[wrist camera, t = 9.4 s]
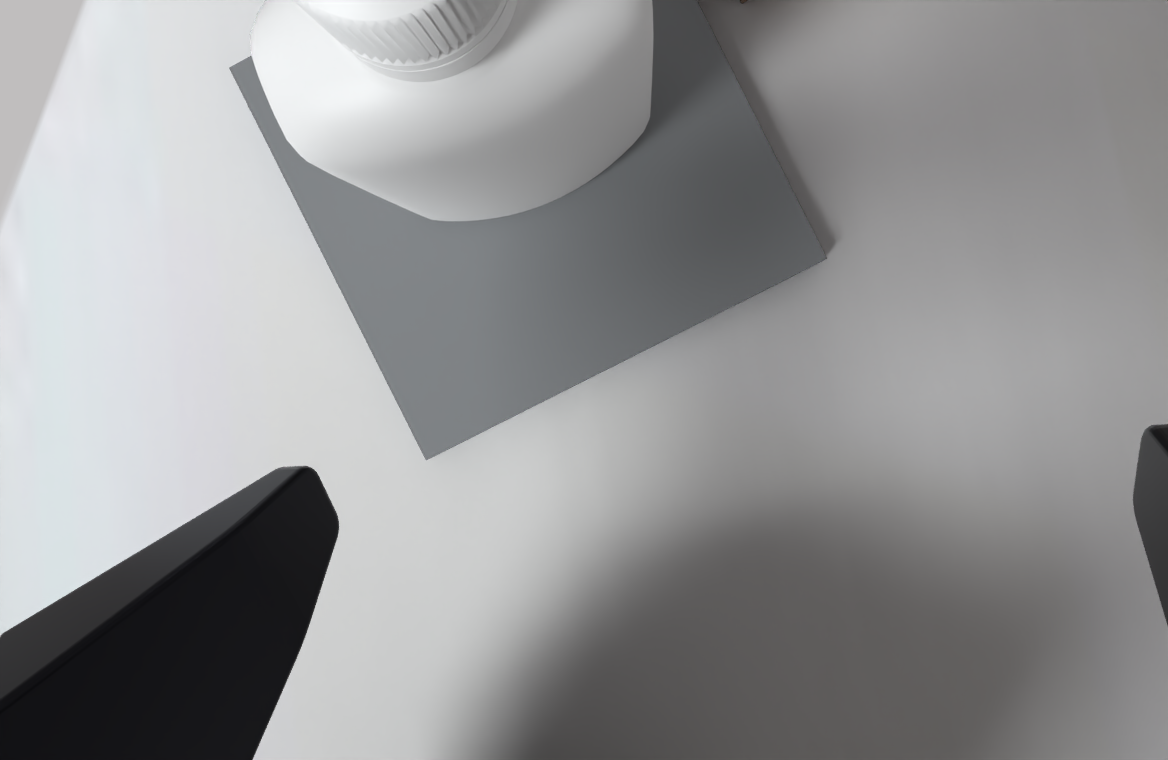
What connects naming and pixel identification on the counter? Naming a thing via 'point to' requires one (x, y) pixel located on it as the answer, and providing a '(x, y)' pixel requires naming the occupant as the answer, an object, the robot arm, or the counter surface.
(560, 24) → the eye dropper bottle
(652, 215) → the mat
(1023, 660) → the counter surface
